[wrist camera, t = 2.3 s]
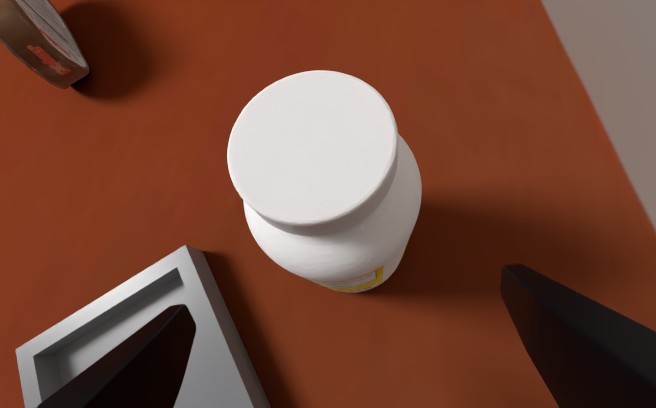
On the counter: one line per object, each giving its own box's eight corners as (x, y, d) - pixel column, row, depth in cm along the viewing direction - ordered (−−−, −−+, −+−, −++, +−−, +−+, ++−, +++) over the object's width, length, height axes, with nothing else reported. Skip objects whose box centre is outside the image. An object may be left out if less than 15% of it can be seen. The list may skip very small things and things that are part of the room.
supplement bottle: (351, 174, 22) (318, 5, 10) (426, 240, 20) (501, 126, 8) (280, 241, 21) (150, 147, 9) (350, 318, 19) (299, 329, 7)
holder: (281, 431, 17) (269, 446, 16) (90, 557, 17) (55, 587, 15) (202, 250, 22) (185, 244, 20) (47, 346, 21) (15, 349, 19)
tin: (36, 18, 33) (-71, -73, 25) (62, 2, 33) (-36, -94, 26) (79, 108, 28) (-38, 28, 20) (109, 88, 28) (5, 1, 20)
